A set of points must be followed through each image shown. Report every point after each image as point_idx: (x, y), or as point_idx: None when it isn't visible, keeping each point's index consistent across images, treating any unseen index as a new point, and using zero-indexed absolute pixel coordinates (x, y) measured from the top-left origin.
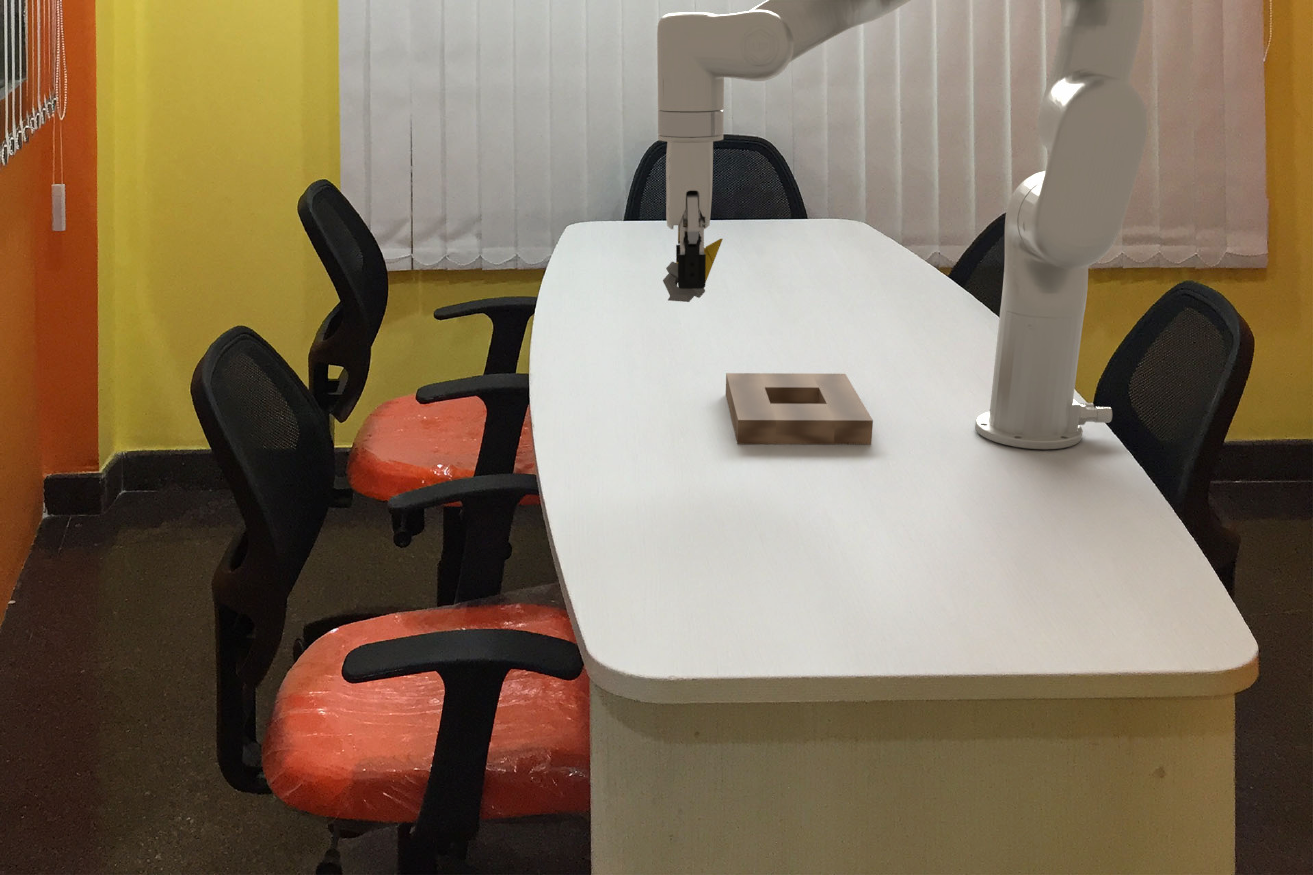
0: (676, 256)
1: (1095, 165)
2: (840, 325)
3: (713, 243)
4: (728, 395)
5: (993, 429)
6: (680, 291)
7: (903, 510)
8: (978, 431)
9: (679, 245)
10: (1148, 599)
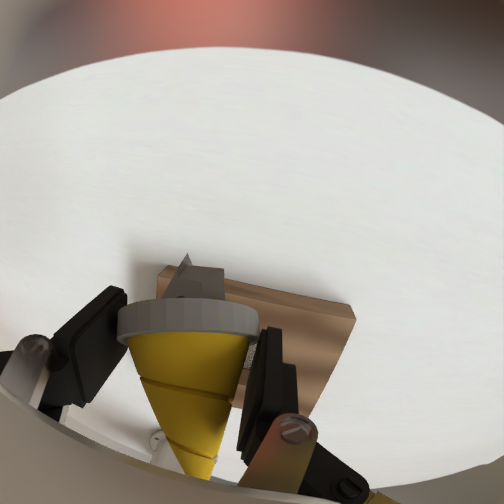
0: (266, 369)
1: None
2: (471, 422)
3: (187, 473)
4: (309, 303)
5: None
6: (169, 295)
7: (48, 323)
8: None
9: (258, 411)
10: None
